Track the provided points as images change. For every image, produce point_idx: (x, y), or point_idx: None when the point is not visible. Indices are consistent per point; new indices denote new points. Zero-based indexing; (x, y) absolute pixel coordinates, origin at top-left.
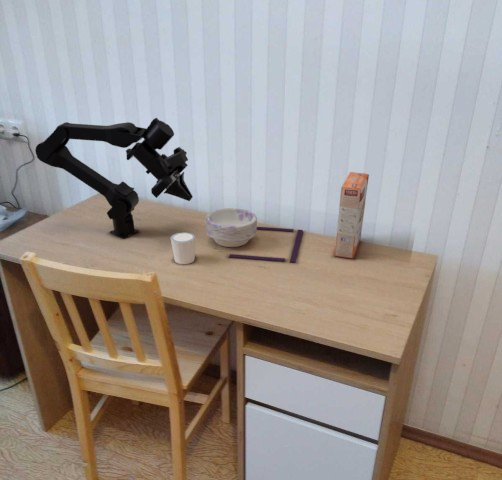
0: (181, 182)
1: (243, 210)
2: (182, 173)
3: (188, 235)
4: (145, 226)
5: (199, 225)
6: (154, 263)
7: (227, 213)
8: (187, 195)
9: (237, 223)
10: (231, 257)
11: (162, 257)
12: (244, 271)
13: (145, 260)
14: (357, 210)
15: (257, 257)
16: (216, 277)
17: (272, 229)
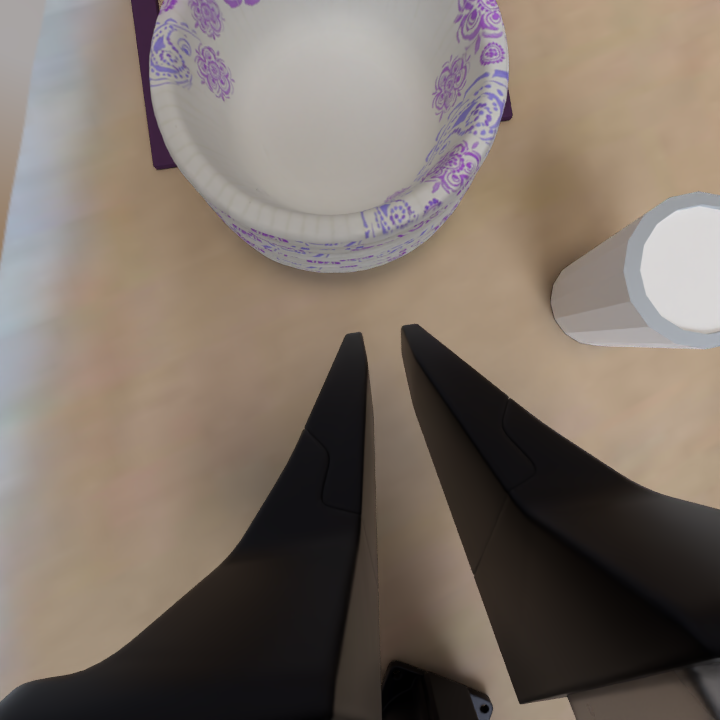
0: (365, 540)
1: (172, 27)
2: (214, 713)
3: (662, 249)
4: None
5: (208, 395)
6: (673, 414)
7: (215, 154)
8: (449, 354)
9: (253, 115)
10: (508, 107)
11: (607, 407)
12: (608, 15)
13: (660, 467)
14: None
15: None
16: (697, 106)
17: (155, 14)
